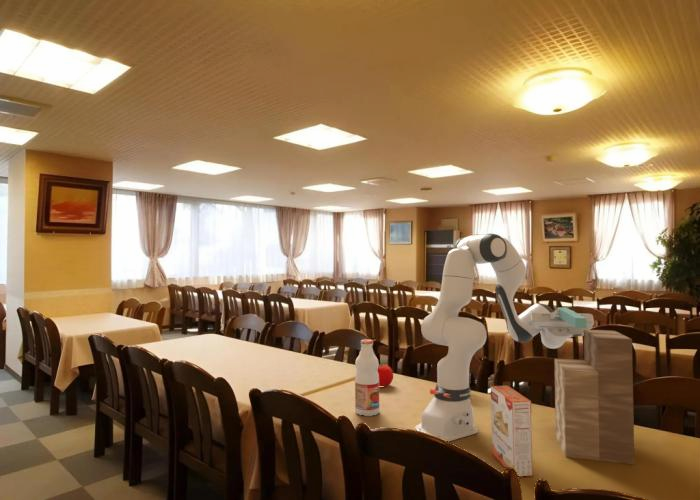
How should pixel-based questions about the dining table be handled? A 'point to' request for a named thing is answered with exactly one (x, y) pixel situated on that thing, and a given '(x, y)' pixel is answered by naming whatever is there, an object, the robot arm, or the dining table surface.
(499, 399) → the cracker box
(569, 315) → the teal bar
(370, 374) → the fruit juice
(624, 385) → the step stand
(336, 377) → the dining table surface
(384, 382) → the tomato
